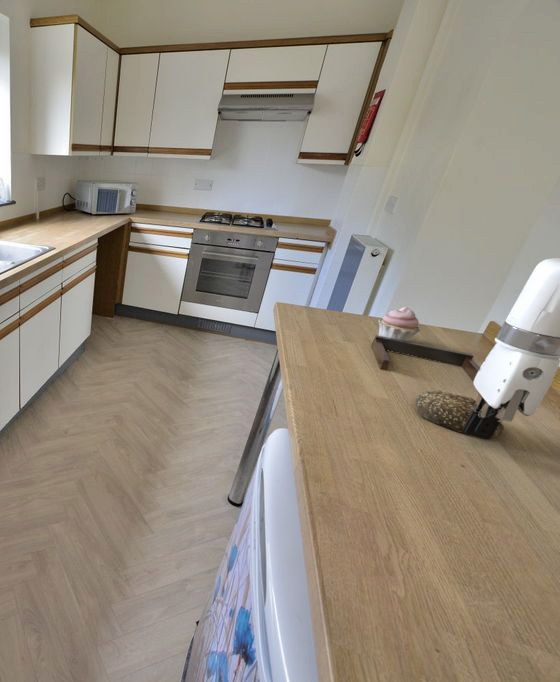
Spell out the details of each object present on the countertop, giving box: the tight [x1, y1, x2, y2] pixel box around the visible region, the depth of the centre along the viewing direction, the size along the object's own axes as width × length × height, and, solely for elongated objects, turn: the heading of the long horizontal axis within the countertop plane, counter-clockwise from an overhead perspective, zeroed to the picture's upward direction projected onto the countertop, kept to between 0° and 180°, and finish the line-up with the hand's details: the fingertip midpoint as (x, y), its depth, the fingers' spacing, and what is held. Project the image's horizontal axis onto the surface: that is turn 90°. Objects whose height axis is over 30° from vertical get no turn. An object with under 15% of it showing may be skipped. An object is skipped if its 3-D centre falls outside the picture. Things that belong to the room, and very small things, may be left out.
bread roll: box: [415, 389, 505, 439], centre depth 78 cm, size 13×12×5 cm
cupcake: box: [377, 306, 421, 342], centre depth 111 cm, size 9×9×10 cm
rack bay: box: [371, 334, 481, 383], centre depth 98 cm, size 19×16×3 cm
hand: (475, 434), depth 71 cm, fingers closed
